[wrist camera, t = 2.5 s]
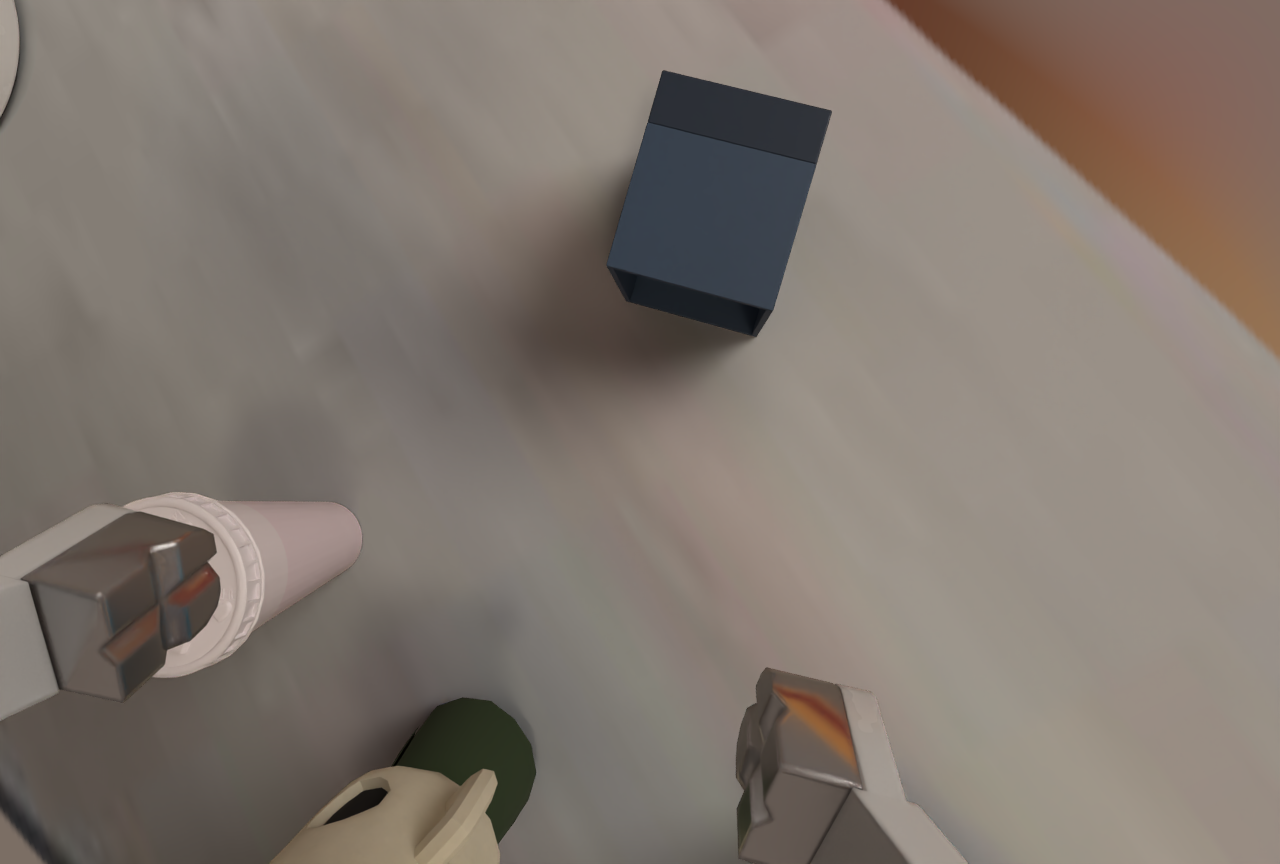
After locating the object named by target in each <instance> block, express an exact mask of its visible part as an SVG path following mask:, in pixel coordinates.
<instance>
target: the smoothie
mask: <svg viewBox="0 0 1280 864" xmlns="http://www.w3.org/2000/svg"><path fill="white" fill-rule="evenodd" d="M123 508H127V509H131V510H134V511H138V512H139V511H141V512H145V513H148V514H152V515H156V516H159V517H163V518H167V519H170V520H174V521H177V522H181V523H185V524H188V525H192V526H196V527H199V528H203V529H205V530H207V531H209V532H211V533H213V534H214V538H215V544H216V550H217V553H216V554H215V555H214V557H213V558H212V559H211V560H210V561H209V562H208V563H209V564H210V565H211V567H212V568H213V569H214V570H215V572H216V573H217V574H218V576H219V577H220V586H221V593H220V598H219V602H218V607H217V608H216V610H215V612H214V613H213V615H212V617H211V619H210V620H209V622H208V624H207V625H206V626H205V627H204V628H203V629H202V630H201V631H200V632H199V633H198V634H197V635H196V636H195V637H194V638H193V639H192V640H191V641H189V642H187V643H184V644H182V645H179V646H177V647H174V648H171V649H169V650H167V655H166V661H165V665H164V666H163V667H162V668H161V669H160V670H159V671H158V672H157V673H156V674H155V675H154V676H152V677H158V678H172V677H179V676H184V675H188V674H191V673H194V672H196V671H198V670H200V669H202V668H205V667H209V666H212V665H214V664H216V663H217V662H219V661H221V660H223V659H225V658H227V657H229V656H230V655H232V654H233V653H234V652H235V651H236V650H237V649H238V648H239V647H240V646H241V645H242V644H243V643H244V642H245V641H246V640H247V639H248V637H249V635H250V633H251V632H252V631H254V630H256V629H257V628H259V627H260V626H261V625H263V624H264V623H266V622H267V621H269V620H270V619H272V618H273V617H275V616H276V615H278V614H280V613H281V612H283V611H284V610H286V609H287V608H289V607H290V606H292V605H293V604H295V603H296V602H298V601H299V600H301V599H302V598H304V597H306V596H307V595H309V594H310V593H312V592H313V591H315V590H316V589H318V588H319V587H321V586H322V585H324V584H325V583H327V582H328V581H330V580H332V579H333V578H335V577H336V576H338V575H339V574H341V573H342V572H344V571H345V570H347V569H348V568H349V567H351V566H352V565H353V563H354V562H355V561H356V559H357V558H358V556H359V554H360V551H361V547H362V532H361V528H360V525H359V522H358V521H357V519H356V517H355V516H354V515H353V513H352V512H351V511H350V510H348V509H347V508H346V507H344V506H342V505H340V504H338V503H334V502H301V501H216V500H214V499H211V498H208V497H205V496H202V495H199V494H196V493H181V492H171V493H167V494H163V495H159V496H155V497H149V498H144V499H140V500H137V501H134V502H131V503H129V504H127V505H125V506H123Z"/></svg>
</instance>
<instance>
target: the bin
mask: <svg viewBox="0 0 1280 864" xmlns="http://www.w3.org/2000/svg"><path fill="white" fill-rule="evenodd" d="M831 113H832V111H831V110H826V109H822V108H818V107H814V106H810V105H806V104H802V103H797V102H793V101H789V100H785V99H781V98H777V97H772V96H768V95H764V94H760V93H756V92H752V91H747V90H743V89H739V88H735V87H731V86H727V85H722V84H718V83H714V82H710V81H706V80H702V79H698V78H693V77H689V76H685V75H681V74H677V73H673V72H668V71H664V70H663V71H662V74H661V78H660V81H659V85H658V88H657V91H656V95H655V98H654V102H653V105H652V109H651V112H650V116H649V119H648V123H647V126H646V129H645V133H644V136H643V140H642V143H641V146H640V150H639V153H638V157H637V160H636V164H635V167H634V171H633V174H632V178H631V181H630V185H629V188H628V192H627V195H626V198H625V202H624V205H623V209H622V212H621V216H620V219H619V223H618V226H617V230H616V233H615V237H614V240H613V244H612V247H611V251H610V254H609V257H608V261H607V264H606V266H607V267H608V269H609V271H610V273H611V275H612V277H613V278H614V280H615V282H616V284H617V286H618V287H619V289H620V291H621V293H622V295H623V296H624V298H625V300H626V301H628V302H631V303H635V304H639V305H642V306H646V307H649V308H653V309H657V310H660V311H664V312H668V313H671V314H675V315H678V316H682V317H686V318H689V319H693V320H696V321H700V322H704V323H707V324H711V325H715V326H718V327H722V328H725V329H729V330H733V331H736V332H740V333H744V334H747V335H751V336H754V337H757V335H758V333H759V332H760V330H761V329H762V327H763V326H764V324H765V322H766V321H767V319H768V318H769V316H770V314H771V313H772V311H773V309H774V306H775V302H776V299H777V296H778V292H779V289H780V285H781V282H782V279H783V275H784V272H785V269H786V265H787V262H788V259H789V255H790V252H791V248H792V245H793V242H794V238H795V235H796V232H797V228H798V225H799V221H800V218H801V215H802V211H803V208H804V205H805V201H806V198H807V194H808V191H809V188H810V184H811V181H812V178H813V174H814V171H815V168H816V164H817V161H818V157H819V154H820V151H821V147H822V144H823V140H824V137H825V134H826V130H827V127H828V124H829V120H830V117H831Z"/></svg>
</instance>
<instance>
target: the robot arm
mask: <svg viewBox="0 0 1280 864" xmlns="http://www.w3.org/2000/svg"><path fill="white" fill-rule="evenodd" d="M19 45H20V38H19V23H18V16H17V11H16V6H15V2H14V0H0V117H1V115H2V113H3V112H4V109H5V107H6V105H7V103H8V100H9V97H10V95H11V92H12V88H13V85H14V82H15V77H16V73H17V67H18V60H19ZM216 553H217V550H216V544H215V538H214V534H213V533H211V532H209V531H207V530H205V529H203V528H199V527H196V526H192V525H188V524H185V523H181V522H177V521H174V520H170V519H167V518H163V517H159V516H156V515H152V514H148V513H145V512H141V511H139V512H138V511H134V510H131V509H127V508H123V507H120V506H116V505H113V504H109V503H103V504H96V505H91V506H89V507H87V508H85V509H83V510H82V511H80V512H78V513H76V514H75V515H73V516H71V517H69V518H67V519H66V520H64V521H62V522H60V523H59V524H57V525H55V526H53V527H51V528H50V529H48V530H46V531H44V532H43V533H41V534H39V535H37V536H35V537H34V538H32V539H30V540H28V541H27V542H25V543H23V544H21V545H19V546H18V547H16V548H14V549H12V550H11V551H9V552H7V553H5V554H3V555H2V556H0V721H1V720H3V719H5V718H7V717H10V716H12V715H14V714H16V713H18V712H20V711H22V710H24V709H26V708H29V707H31V706H33V705H35V704H37V703H39V702H41V701H43V700H45V699H48V698H50V697H52V696H54V695H56V694H58V693H59V689H61V690H66V691H70V692H75V693H79V694H84V695H88V696H93V697H97V698H102V699H106V700H111V701H116V702H120V703H124V702H125V701H126V700H128V699H129V698H130V697H131V696H132V695H133V694H134V693H135V692H136V691H137V690H138V689H139V688H141V687H142V686H143V685H144V684H145V683H146V682H147V681H148V680H149V679H150V678H151V677H152V676H154V675H155V674H156V673H157V672H158V671H159V670H160V669H161V668H162V667H163V666H164V665H165V661H166V655H167V650H169V649H171V648H174V647H177V646H179V645H182V644H184V643H187V642H189V641H191V640H192V639H193V638H194V637H195V636H196V635H197V634H198V633H199V632H200V631H201V630H202V629H203V628H204V627H205V626H206V625H207V624H208V622H209V620H210V619H211V617H212V615H213V613H214V612H215V610H216V608H217V607H218V602H219V598H220V593H221V586H220V577H219V576H218V574H217V573H216V572H215V570H214V569H213V568H212V567H211V565H210V564H209V563H208V562H209V561H210V560H211V559H212V558H213V557H214V555H215V554H216ZM756 698H757V703H755V704H753V705H752V706H750V707H748V708H747V709H746V712H745V715H744V718H743V720H742V723H741V727H740V732H739V736H738V741H737V750H736V778H737V780H738V781H739V783H740V785H741V786H742V788H743V789H744V793H743V795H742V797H741V800H740V802H739V805H738V807H737V830H738V859H741V860H745V861H748V862H752V863H755V864H968V862H967V861H966V860H965V859H964V858H963V856H962V855H961V854H960V853H959V852H958V851H957V849H956V848H955V847H954V846H953V845H952V844H951V842H950V841H949V840H948V839H947V838H946V837H945V835H944V834H943V833H942V832H941V831H940V829H939V828H938V827H937V826H936V825H935V824H934V822H933V821H932V820H931V819H930V818H929V817H928V815H927V814H926V813H925V812H924V811H923V810H922V808H921V807H920V806H919V805H918V804H914V803H911V802H907V800H906V797H905V793H904V790H903V787H902V783H901V780H900V776H899V773H898V770H897V766H896V763H895V759H894V756H893V753H892V749H891V746H890V742H889V739H888V736H887V732H886V729H885V725H884V722H883V719H882V715H881V712H880V708H879V705H878V702H877V698H876V697H875V696H874V695H873V693H872V692H871V691H866V690H862V689H858V688H853V687H849V686H845V685H840V684H833V683H830V682H826V681H822V680H818V679H814V678H809V677H805V676H801V675H797V674H793V673H788V672H784V671H780V670H776V669H771V668H767V667H766V668H765V669H764V671H763V672H762V673H761V675H760V678H759V680H758V682H757V685H756Z"/></svg>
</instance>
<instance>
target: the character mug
mask: <svg viewBox="0 0 1280 864" xmlns="http://www.w3.org/2000/svg"><path fill="white" fill-rule="evenodd" d="M417 729H418V728H417ZM417 729H416V730H417ZM416 730H415V732H416ZM415 732H414V733H413V734H412V736H411V737H410V739H409V740H408V741H407V743H406V744H405V746H404V747H403V748H402V750H401V751H400V753H399V754H398V756H397V758H396V759H395V761H394V763H393V764H392V766H391V767H388V768H383V769H377V770H372V771H370V772H368V773H366V774H364V775H363V776H361V777H359V778H357V779H356V780H354V781H352V782H350V783H349V784H348V785H347V786H346V787H345V788H344V789H342V790H341V791H340V792H339V793H338V794H337V795H336V796H335V797H334V798H333V799H332V800H331V801H330V802H329V803H328V804H326V805H325V806H324V807H323V808H322V809H321V810H320V811H319V812H318V813H317V814H316V815H315V816H314V817H313V818H312V819H311V820H310V821H309V822H308V823H307V824H306V825H305V826H304V827H303V828H302V829H301V831H300V832H299V833H298V834H297V835H296V836H295V837H294V838H293V839H292V840H291V841H290V842H289V843H288V844H287V845H286V847H285V848H284V849H283V850H282V851H281V852H280V853H279V854H278V855H277V856H276V857H275V858H274V859H273V860H272V861H271V862H270V863H269V864H499V862H500V851H499V848H498V843H499V842H500V841H501V839H502V838H503V837H504V835H505V834H506V832H507V831H508V830H509V828H510V827H511V826H512V824H513V823H514V822H515V820H516V818H517V817H518V815H519V814H520V812H521V810H522V809H523V807H524V806H525V804H526V802H527V801H528V799H529V796H530V792H531V789H532V786H533V782H534V779H535V775H536V769H535V764H534V758H533V753H532V747H531V744H530V742H529V741H528V739H527V738H526V736H525V735H524V733H523V732H522V730H521V729H520V727H519V726H518V724H517V723H516V721H515V719H513V718H512V717H511V716H510V715H508V714H507V713H506V712H504V711H503V710H502V709H500V708H499V707H498V706H497V705H495V704H494V703H493V702H491V701H486V700H478V699H470V698H460V699H457V700H454V701H451V702H448V703H445V704H442V705H439V706H437V707H436V708H435V709H434V710H433V712H432V713H431V714H430V716H429V717H428V718H427V720H426V721H425V723H424V724H423V725H422V727H421V728H420V729H419V731H418V732H417V734H416V735H415ZM414 736H415V737H414Z"/></svg>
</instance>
